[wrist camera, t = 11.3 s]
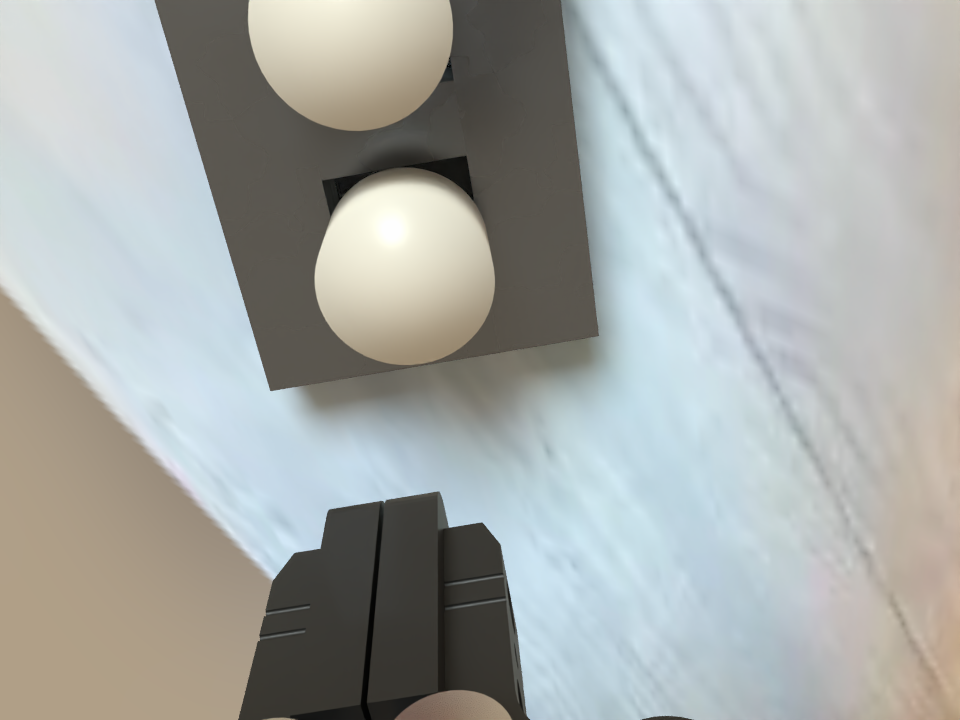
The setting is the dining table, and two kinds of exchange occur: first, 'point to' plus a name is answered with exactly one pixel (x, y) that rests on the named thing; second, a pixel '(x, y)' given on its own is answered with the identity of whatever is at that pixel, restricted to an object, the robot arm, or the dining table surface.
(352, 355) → the mount panel
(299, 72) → the knob mid
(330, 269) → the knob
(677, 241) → the dining table surface
